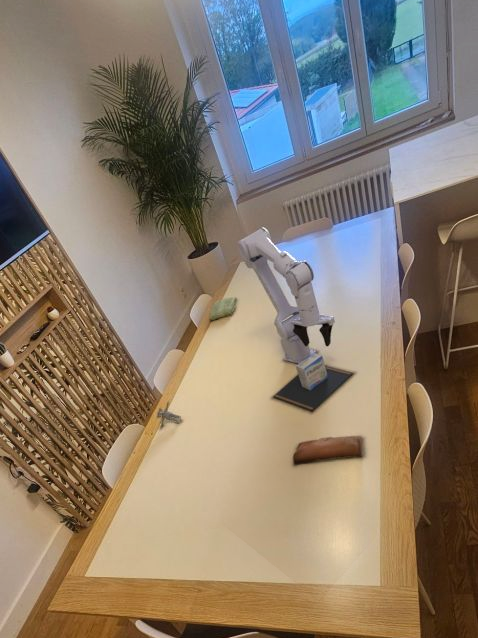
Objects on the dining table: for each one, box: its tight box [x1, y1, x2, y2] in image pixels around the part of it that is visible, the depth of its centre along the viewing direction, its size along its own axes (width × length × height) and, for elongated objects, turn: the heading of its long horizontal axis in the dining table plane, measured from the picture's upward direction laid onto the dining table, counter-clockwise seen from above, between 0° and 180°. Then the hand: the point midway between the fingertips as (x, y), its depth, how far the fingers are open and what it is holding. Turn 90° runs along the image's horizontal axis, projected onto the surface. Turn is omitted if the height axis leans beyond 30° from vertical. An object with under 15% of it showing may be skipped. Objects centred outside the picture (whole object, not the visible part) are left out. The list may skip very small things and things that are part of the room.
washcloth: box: [209, 296, 238, 321], centre depth 204 cm, size 13×18×3 cm
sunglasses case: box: [292, 435, 363, 464], centre depth 111 cm, size 18×7×7 cm
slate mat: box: [272, 365, 354, 413], centre depth 136 cm, size 18×20×1 cm
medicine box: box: [295, 353, 328, 390], centre depth 133 cm, size 8×4×9 cm, turn 122°
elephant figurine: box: [156, 401, 182, 429], centre depth 150 cm, size 10×6×9 cm
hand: (317, 344), depth 133 cm, fingers open, 7 cm apart
